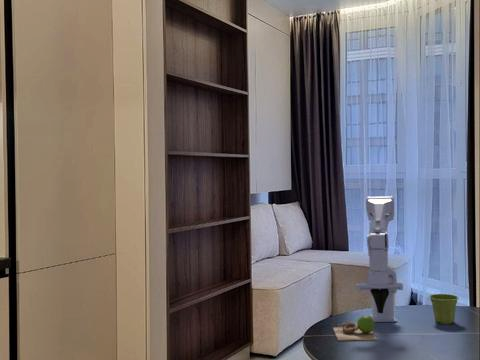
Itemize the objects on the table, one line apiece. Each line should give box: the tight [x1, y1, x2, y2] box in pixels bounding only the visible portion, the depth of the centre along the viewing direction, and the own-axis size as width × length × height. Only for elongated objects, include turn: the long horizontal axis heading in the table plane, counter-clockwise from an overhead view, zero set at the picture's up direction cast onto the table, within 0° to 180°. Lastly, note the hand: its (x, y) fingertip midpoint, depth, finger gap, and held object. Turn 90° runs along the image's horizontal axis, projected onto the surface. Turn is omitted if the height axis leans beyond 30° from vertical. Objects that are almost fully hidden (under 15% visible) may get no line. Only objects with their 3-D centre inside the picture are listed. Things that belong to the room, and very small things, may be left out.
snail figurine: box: [337, 315, 376, 333], centre depth 167 cm, size 5×6×12 cm
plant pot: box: [429, 293, 459, 325], centre depth 178 cm, size 9×9×9 cm
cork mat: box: [332, 326, 378, 342], centre depth 166 cm, size 14×12×1 cm
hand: (380, 312), depth 166 cm, fingers closed
